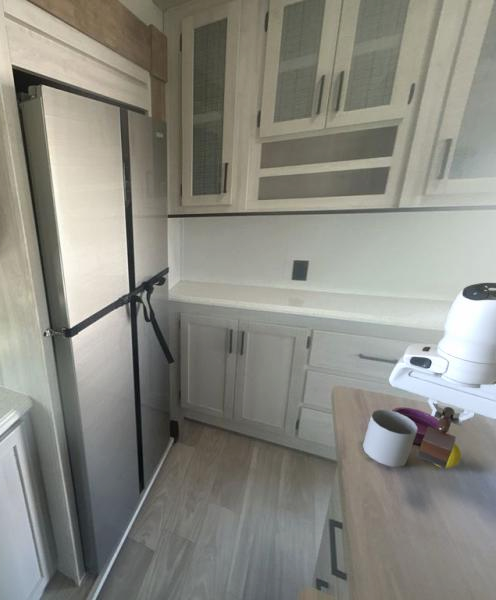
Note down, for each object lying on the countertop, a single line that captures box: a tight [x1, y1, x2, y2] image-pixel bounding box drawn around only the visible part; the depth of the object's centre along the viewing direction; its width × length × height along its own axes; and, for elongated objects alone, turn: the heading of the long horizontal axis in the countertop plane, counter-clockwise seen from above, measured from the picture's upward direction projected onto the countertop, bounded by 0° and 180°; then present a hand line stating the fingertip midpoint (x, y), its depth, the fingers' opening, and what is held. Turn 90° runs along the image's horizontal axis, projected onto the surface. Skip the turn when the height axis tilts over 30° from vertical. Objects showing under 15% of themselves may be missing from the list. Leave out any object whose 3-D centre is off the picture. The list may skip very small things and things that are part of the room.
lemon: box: [432, 442, 462, 469], centre depth 76 cm, size 6×6×8 cm
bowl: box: [391, 406, 440, 446], centre depth 86 cm, size 10×10×4 cm
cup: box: [362, 409, 418, 468], centre depth 80 cm, size 8×8×10 cm
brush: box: [416, 406, 457, 469], centre depth 68 cm, size 14×4×6 cm, turn 129°
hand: (445, 419), depth 70 cm, fingers closed on brush
